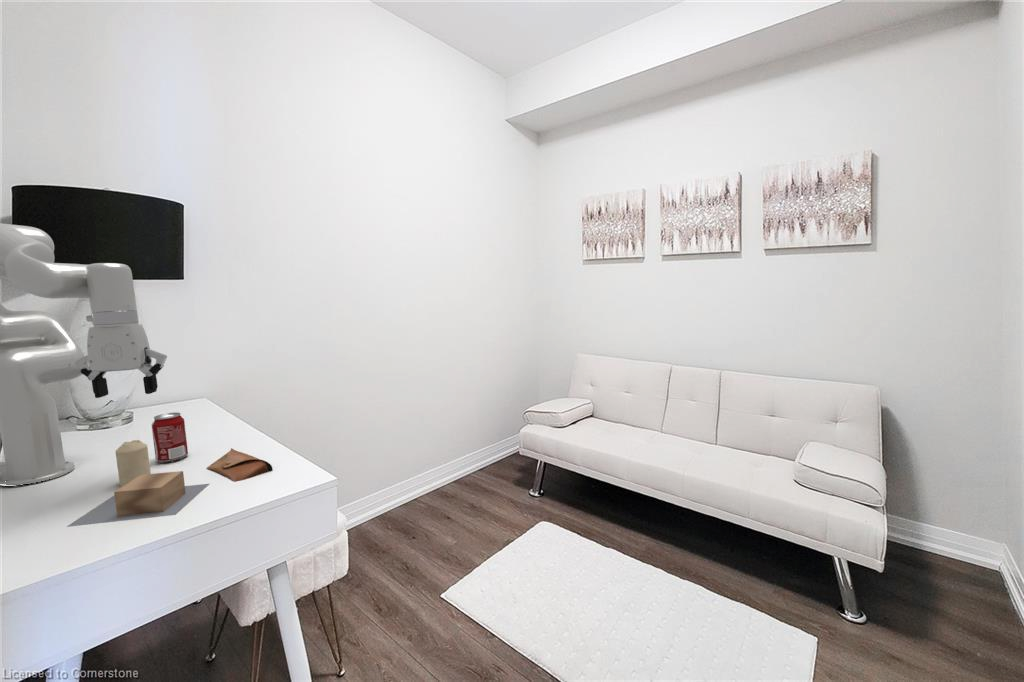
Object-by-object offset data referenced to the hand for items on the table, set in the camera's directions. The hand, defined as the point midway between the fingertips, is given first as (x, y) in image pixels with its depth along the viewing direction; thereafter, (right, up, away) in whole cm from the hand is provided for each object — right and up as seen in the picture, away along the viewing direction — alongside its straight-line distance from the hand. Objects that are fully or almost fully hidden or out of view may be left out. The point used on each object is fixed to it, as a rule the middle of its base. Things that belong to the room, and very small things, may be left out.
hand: (126, 394), depth 98 cm
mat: (+12, -22, -9) cm, 26 cm away
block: (+14, -21, -9) cm, 27 cm away
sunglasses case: (+20, -21, +8) cm, 30 cm away
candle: (0, -21, +2) cm, 21 cm away
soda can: (-3, -20, +17) cm, 26 cm away
